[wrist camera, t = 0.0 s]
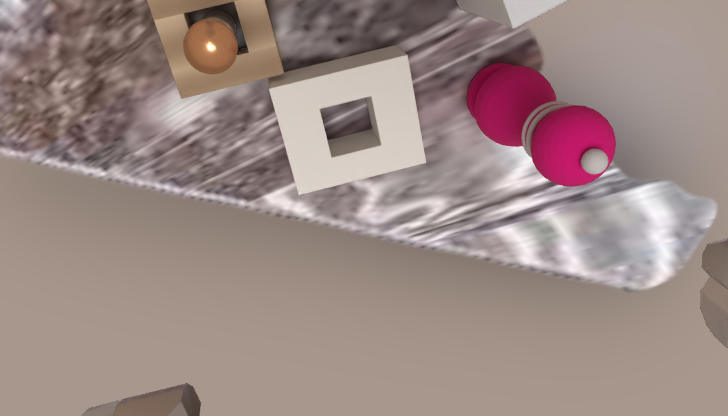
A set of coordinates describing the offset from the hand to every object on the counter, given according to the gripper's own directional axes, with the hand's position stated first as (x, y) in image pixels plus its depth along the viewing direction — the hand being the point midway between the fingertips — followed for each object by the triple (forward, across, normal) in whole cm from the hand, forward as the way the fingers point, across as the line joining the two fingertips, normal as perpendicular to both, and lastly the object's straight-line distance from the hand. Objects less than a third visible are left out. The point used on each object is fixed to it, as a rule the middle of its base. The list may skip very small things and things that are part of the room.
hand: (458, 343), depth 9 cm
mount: (+48, +7, 0) cm, 49 cm away
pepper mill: (+48, -17, +12) cm, 53 cm away
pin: (+48, +7, 0) cm, 49 cm away
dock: (+48, -2, +10) cm, 49 cm away
